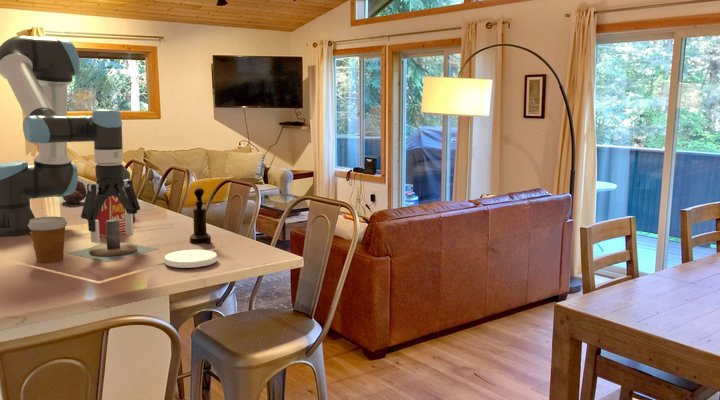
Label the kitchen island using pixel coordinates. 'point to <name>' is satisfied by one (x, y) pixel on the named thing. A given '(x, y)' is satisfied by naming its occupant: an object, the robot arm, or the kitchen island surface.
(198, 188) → the black pedestal statuette
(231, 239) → the kitchen island surface
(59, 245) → the disposable coffee cup
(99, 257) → the slate mat
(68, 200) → the pine cone
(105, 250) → the wooden lid with knob
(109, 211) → the milk carton
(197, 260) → the plastic lid
